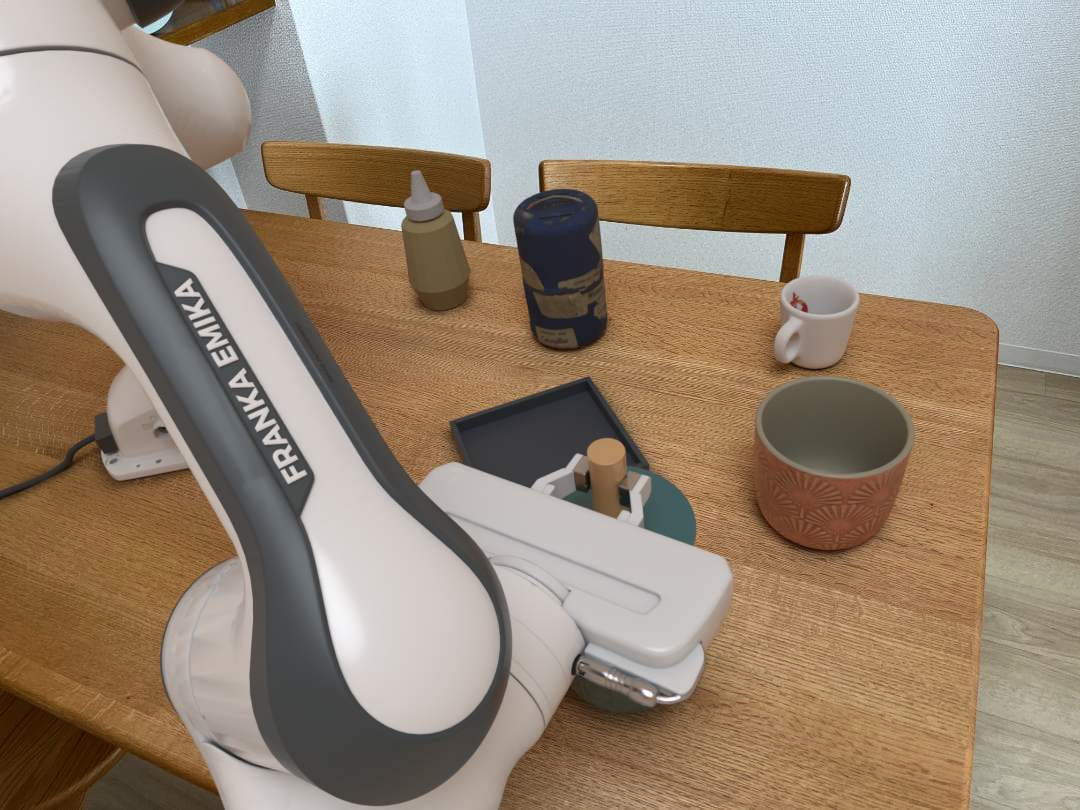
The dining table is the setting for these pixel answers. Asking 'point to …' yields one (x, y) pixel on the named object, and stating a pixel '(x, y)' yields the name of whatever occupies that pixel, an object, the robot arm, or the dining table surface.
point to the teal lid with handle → (606, 471)
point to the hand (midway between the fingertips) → (614, 471)
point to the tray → (540, 433)
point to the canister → (562, 267)
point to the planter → (829, 459)
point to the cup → (815, 321)
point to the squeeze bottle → (433, 249)
